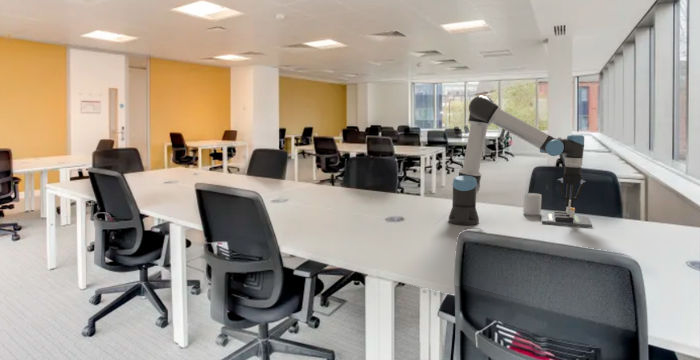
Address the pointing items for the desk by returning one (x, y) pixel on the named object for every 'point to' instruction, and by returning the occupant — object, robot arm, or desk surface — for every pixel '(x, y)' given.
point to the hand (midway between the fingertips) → (568, 213)
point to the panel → (581, 218)
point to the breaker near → (572, 212)
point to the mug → (532, 204)
